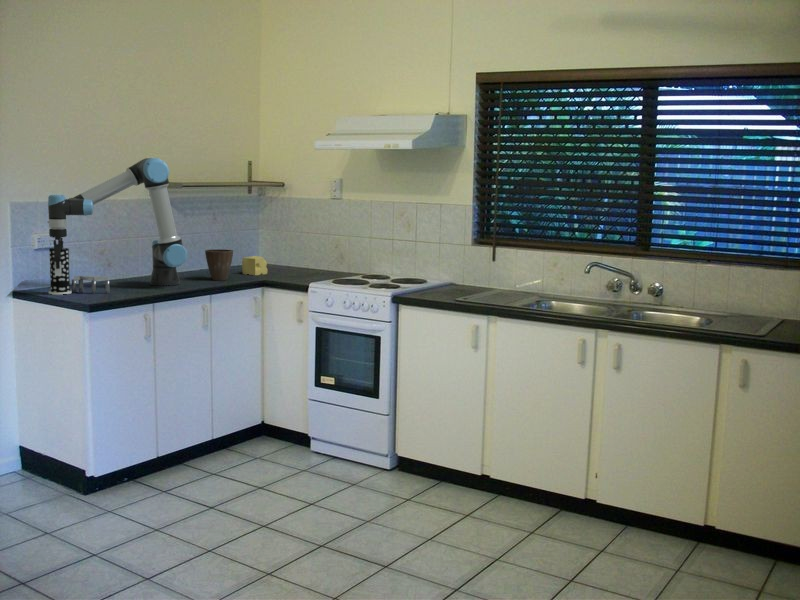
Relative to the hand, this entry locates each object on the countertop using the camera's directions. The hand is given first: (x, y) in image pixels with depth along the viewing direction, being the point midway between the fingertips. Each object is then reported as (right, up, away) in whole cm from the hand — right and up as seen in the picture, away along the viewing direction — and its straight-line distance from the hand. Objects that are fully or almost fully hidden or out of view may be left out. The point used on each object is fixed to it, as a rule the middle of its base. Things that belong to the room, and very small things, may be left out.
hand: (59, 273), depth 389 cm
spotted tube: (0, -8, +1) cm, 8 cm away
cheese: (+75, +2, +91) cm, 118 cm away
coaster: (0, -9, +1) cm, 9 cm away
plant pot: (+61, -1, +63) cm, 88 cm away
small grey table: (+12, -9, +5) cm, 16 cm away
